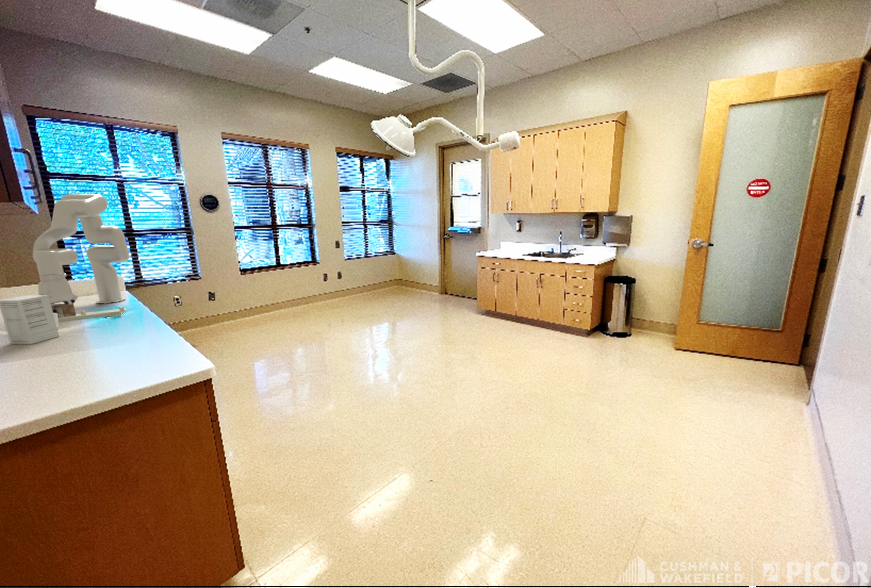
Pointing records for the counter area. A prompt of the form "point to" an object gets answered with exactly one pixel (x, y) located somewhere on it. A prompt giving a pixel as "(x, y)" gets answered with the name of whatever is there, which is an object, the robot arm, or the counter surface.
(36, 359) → the counter surface
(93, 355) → the counter surface
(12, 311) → the supplement box
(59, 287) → the robot arm
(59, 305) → the frame
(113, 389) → the counter surface
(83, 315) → the panel
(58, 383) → the counter surface
